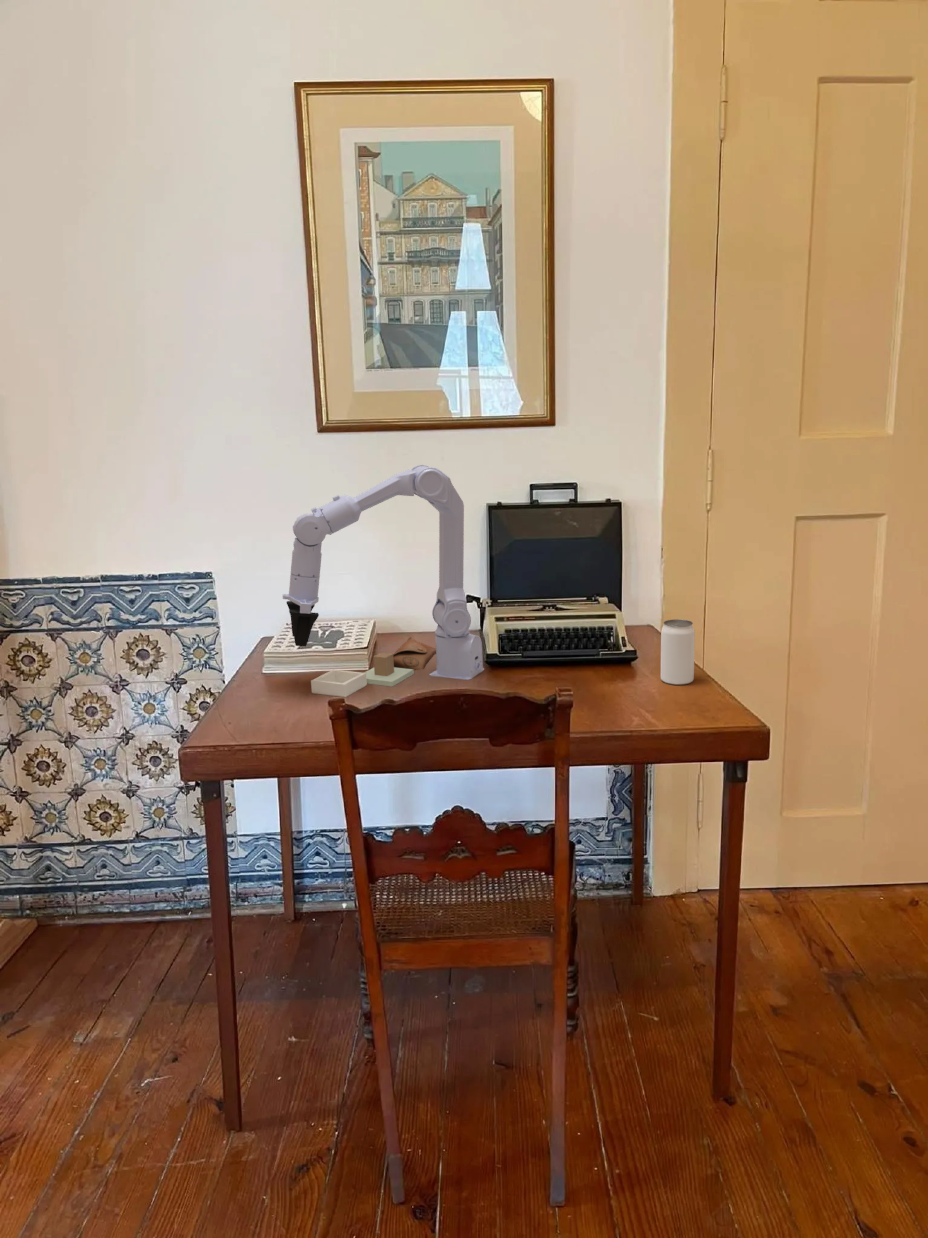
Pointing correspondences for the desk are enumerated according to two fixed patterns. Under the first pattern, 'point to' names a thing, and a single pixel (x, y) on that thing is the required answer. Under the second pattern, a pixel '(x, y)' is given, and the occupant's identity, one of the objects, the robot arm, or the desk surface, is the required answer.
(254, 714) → the desk surface
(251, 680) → the desk surface
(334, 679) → the dish
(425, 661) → the sunglasses case
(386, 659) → the lid
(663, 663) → the can
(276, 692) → the desk surface
